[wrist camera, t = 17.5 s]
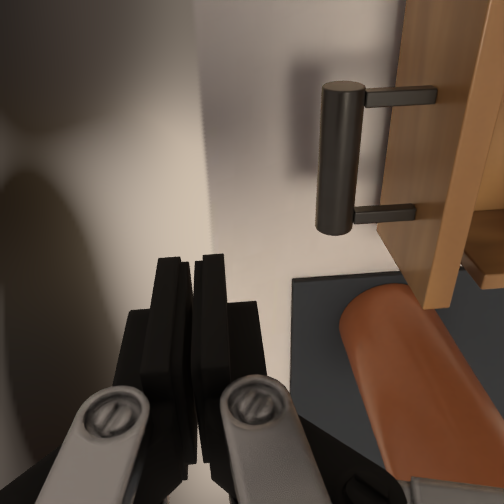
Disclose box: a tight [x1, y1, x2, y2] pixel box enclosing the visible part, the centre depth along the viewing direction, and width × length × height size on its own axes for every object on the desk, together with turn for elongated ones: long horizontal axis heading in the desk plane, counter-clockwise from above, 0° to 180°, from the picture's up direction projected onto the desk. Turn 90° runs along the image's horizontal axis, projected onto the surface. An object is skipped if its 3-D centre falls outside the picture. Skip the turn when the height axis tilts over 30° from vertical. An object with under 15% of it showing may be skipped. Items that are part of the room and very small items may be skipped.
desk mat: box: [290, 267, 504, 470], centre depth 40 cm, size 40×22×1 cm, turn 2°
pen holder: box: [339, 283, 504, 488], centre depth 24 cm, size 6×6×16 cm
